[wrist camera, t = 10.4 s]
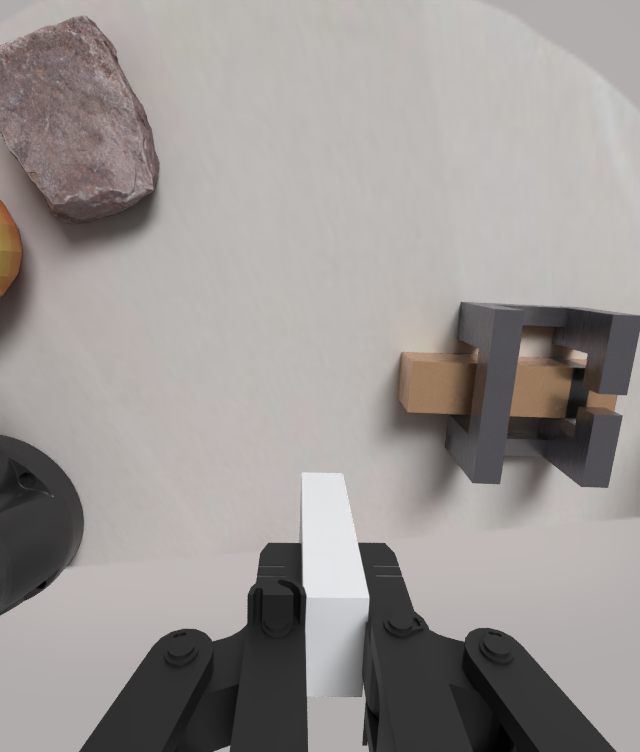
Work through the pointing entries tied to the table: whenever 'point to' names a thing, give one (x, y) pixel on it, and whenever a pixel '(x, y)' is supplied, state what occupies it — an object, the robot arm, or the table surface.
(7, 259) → the apple
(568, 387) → the block
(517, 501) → the table surface
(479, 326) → the grey open frame bracket
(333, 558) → the robot arm
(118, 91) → the stone
